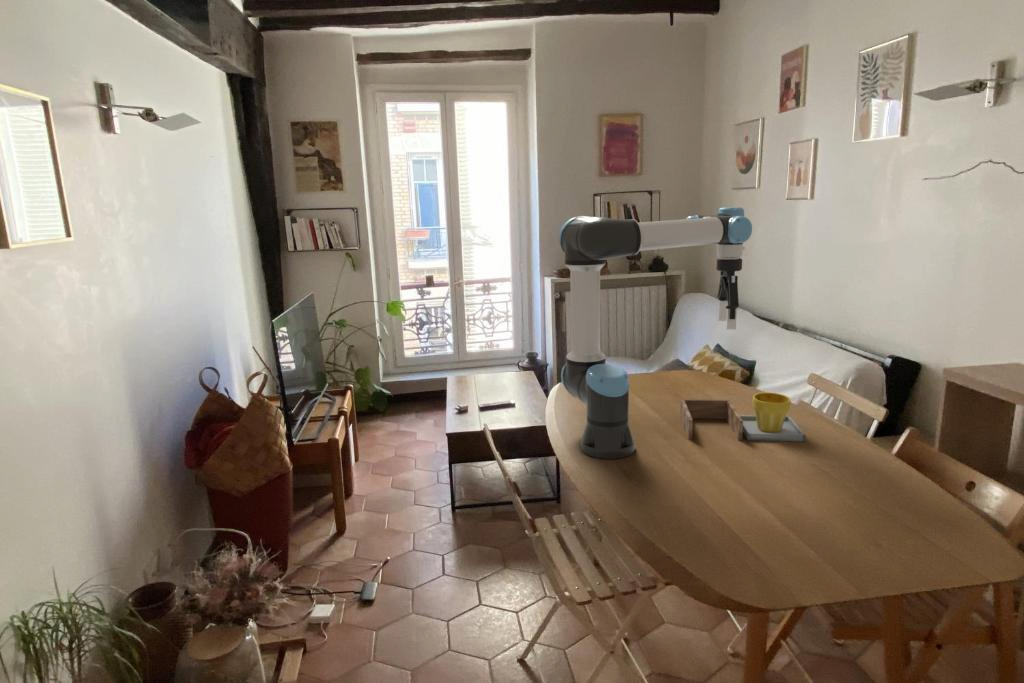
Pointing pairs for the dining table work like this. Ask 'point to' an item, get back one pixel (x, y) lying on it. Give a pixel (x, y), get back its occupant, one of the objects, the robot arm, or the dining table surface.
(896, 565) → the dining table surface
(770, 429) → the plant pot
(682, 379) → the dining table surface
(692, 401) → the box
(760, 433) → the tray
